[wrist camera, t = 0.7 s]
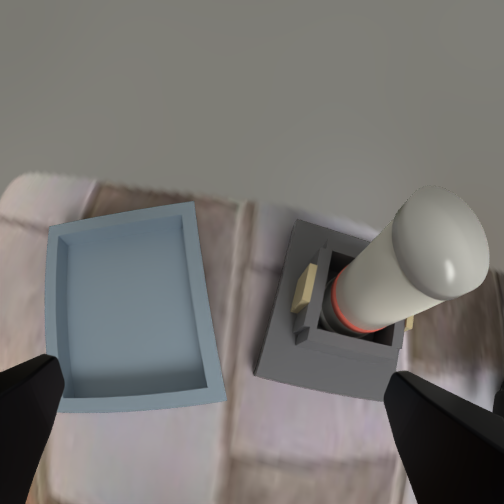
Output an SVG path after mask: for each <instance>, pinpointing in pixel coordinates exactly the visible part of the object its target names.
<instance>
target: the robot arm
mask: <svg viewBox="0 0 504 504" xmlns="http://www.w3.org/2000/svg"><path fill="white" fill-rule="evenodd" d="M64 388H65V380H64V377H63V373H62V370H61V367H60V363H59V360H58V358H57V357H55V356H52V355H48V354H42V355H40V356H37V357H35V358H33V359H30V360H28V361H26V362H23V363H21V364H19V365H16V366H14V367H12V368H10V369H7V370H5V371H3V372H0V504H25V502H26V499H27V496H28V493H29V490H30V487H31V484H32V481H33V478H34V475H35V472H36V469H37V467H38V464H39V461H40V459H41V456H42V453H43V451H44V448H45V446H46V443H47V441H48V438H49V435H50V433H51V430H52V427H53V424H54V420H55V417H56V413H57V410H58V407H59V404H60V400H61V397H62V394H63V391H64ZM383 400H384V405H385V408H386V412H387V415H388V419H389V423H390V426H391V430H392V433H393V437H394V441H395V444H396V447H397V450H398V452H399V455H400V457H401V460H402V463H403V465H404V468H405V470H406V473H407V476H408V478H409V481H410V484H411V486H412V489H413V492H414V495H415V497H416V500H417V503H418V504H504V419H503V417H501V416H499V415H496V414H494V413H492V412H490V411H488V410H486V409H484V408H482V407H479V406H477V405H475V404H473V403H471V402H469V401H467V400H465V399H463V398H461V397H459V396H457V395H455V394H453V393H451V392H449V391H447V390H445V389H442V388H440V387H438V386H436V385H434V384H432V383H430V382H428V381H427V380H425V379H423V378H421V377H419V376H417V375H415V374H413V373H411V372H409V371H398V372H394V373H393V374H392V375H391V378H390V380H389V383H388V385H387V388H386V391H385V393H384V398H383Z"/></svg>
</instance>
